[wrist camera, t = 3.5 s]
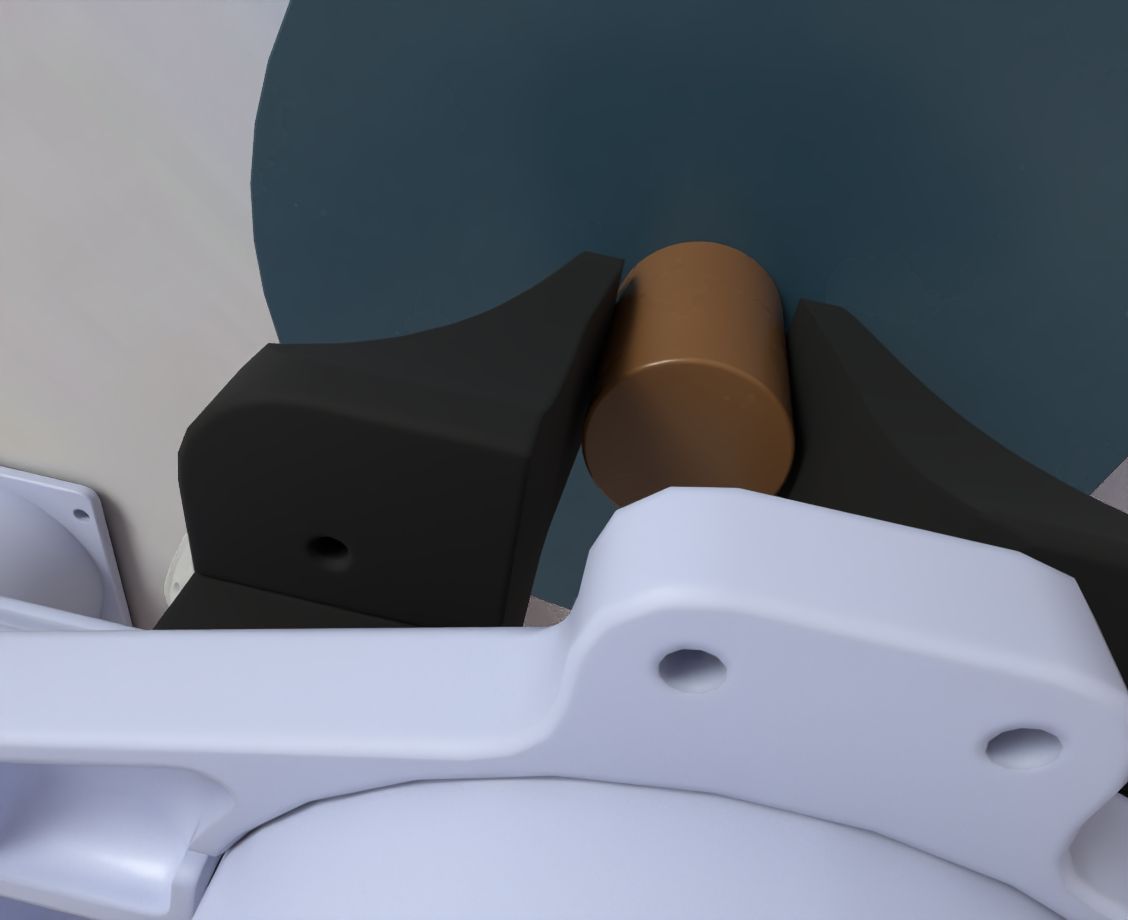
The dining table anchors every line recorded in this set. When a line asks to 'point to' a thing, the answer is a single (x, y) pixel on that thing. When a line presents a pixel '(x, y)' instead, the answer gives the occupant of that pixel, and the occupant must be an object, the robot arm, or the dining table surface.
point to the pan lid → (718, 210)
